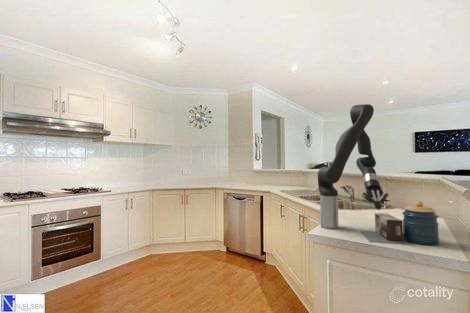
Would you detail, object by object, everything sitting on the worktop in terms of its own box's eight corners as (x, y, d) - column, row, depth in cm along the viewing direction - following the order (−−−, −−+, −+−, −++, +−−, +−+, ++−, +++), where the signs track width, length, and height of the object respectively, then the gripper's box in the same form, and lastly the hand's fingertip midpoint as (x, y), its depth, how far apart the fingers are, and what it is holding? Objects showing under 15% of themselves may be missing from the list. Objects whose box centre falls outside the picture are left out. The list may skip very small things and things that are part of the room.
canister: (428, 247, 99) (427, 204, 99) (396, 238, 111) (395, 200, 111) (446, 243, 104) (444, 202, 105) (413, 234, 116) (412, 198, 117)
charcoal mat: (369, 241, 107) (369, 240, 107) (360, 231, 123) (360, 230, 123) (408, 244, 103) (408, 243, 103) (393, 233, 119) (393, 232, 119)
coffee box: (388, 231, 121) (403, 241, 105) (374, 230, 122) (387, 240, 107) (388, 213, 121) (403, 220, 105) (374, 212, 123) (386, 219, 107)
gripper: (359, 178, 135) (365, 203, 123) (386, 178, 132) (395, 204, 120) (357, 187, 140) (363, 212, 128) (383, 187, 137) (391, 213, 125)
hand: (378, 208), depth 124 cm, fingers closed
